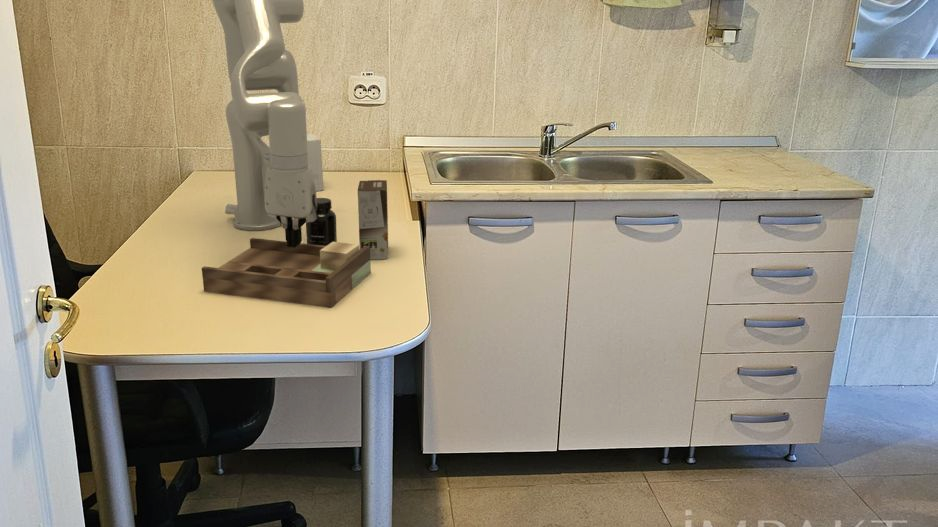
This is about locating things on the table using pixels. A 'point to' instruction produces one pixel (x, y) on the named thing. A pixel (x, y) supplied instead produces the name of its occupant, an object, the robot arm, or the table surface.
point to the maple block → (336, 254)
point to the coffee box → (373, 217)
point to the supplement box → (315, 160)
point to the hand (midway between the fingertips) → (294, 245)
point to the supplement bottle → (322, 225)
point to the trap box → (286, 274)
